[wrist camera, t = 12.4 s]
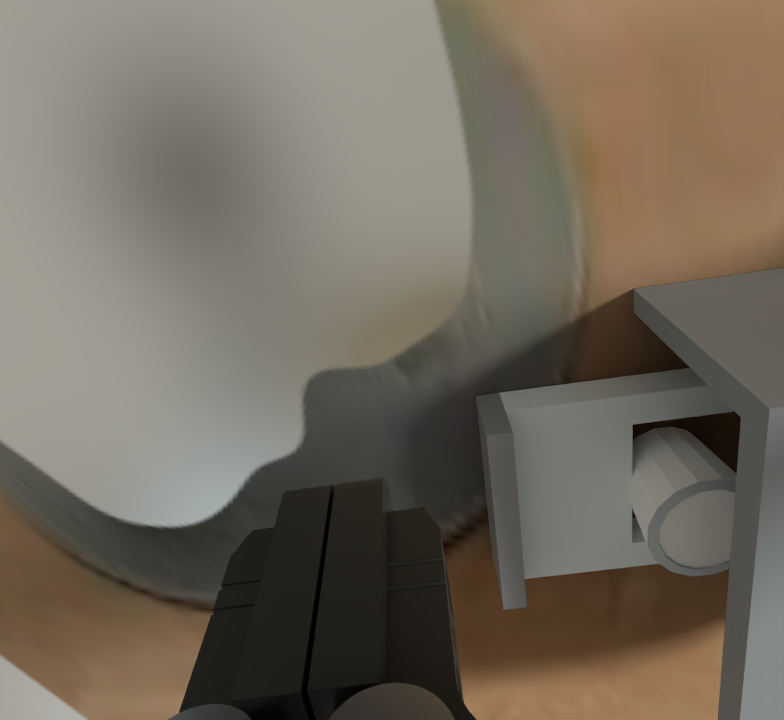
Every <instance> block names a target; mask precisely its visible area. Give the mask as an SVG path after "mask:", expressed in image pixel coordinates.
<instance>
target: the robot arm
mask: <svg viewBox="0 0 784 720" xmlns="http://www.w3.org/2000/svg"><path fill="white" fill-rule="evenodd" d="M221 585H222V590H220V591H219V593H218V596H217V600H216V603H215V606H214V615H211V618H210V621H209V624H208V627H207V630H206V633H205V636H204V639H203V642H202V645H201V648H200V651H199V654H198V657H197V660H196V663H195V666H194V669H193V672H192V675H191V678H190V681H189V684H188V687H187V690H186V693H185V696H184V699H183V702H182V705H181V708H180V711H179V713H178V714H176V715H175V716H173V717H171V718H169V719H168V720H476V719H475V718H474V716H473V715H472V714H471V713H470V712H469V711H468V709H467V707H466V706H465V704H464V700H463V692H462V683H461V674H460V667H459V657H458V648H457V641H456V631H455V622H454V614H453V606H452V600H451V594H450V588H449V582H448V575H447V569H446V563H445V557H444V551H443V545H442V539H441V533H440V528H439V527H438V526H437V524H436V523H435V522H434V521H433V519H432V518H431V517H430V515H429V514H428V513H427V512H426V510H425V509H424V508H423V507H422V508H414V509H407V510H399V511H392V507H391V501H390V496H389V491H388V487H387V483H386V480H385V478H379V479H372V480H364V481H357V482H350V483H343V484H337V485H336V486H334V485H329V486H322V487H315V488H307V489H300V490H293V491H286V492H284V494H283V496H282V500H281V504H280V508H279V512H278V515H277V519H276V523H275V527H274V528H266V529H259V530H252V532H251V533H250V534H249V535H248V536H247V538H246V539H245V540H244V541H243V542H242V544H241V545H240V546H239V547H238V548H237V550H236V551H235V552H234V553H233V554H232V555H231V557H230V560H229V563H228V566H227V569H226V572H225V575H224V578H223V581H222V584H221Z"/></svg>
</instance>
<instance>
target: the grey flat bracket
mask: <svg viewBox="0 0 784 720" xmlns="http://www.w3.org/2000/svg"><path fill="white" fill-rule="evenodd" d="M476 405H477V414H478V424H479V434H480V443H481V453H482V463H483V472H484V482H485V492H486V501H487V511H488V521H489V530H490V540H491V550H492V558H493V563H494V567H495V572H496V577H497V582H498V586H499V591H500V596H501V600H502V605H503V610H508V609H517V608H526V607H527V601H526V589H525V579H530V578H538V577H547V576H556V575H565V574H573V573H582V572H591V571H600V570H608V569H617V568H626V567H635V566H643V565H652V564H659V563H657V562H656V561H655V559H654V557H653V555H652V553H651V552H650V550H649V548H648V546H647V544H646V541H645V539H644V536H643V533H642V531H641V528H640V526H639V523H638V521H637V518H636V517H635V518H632V506H631V503H630V501H629V482H630V480H631V478H632V450H633V424H641V423H649V422H657V421H664V420H672V419H680V418H688V417H696V416H704V415H712V414H720V413H728V412H735V411H734V410H733V409H732V408H731V407H730V406H729V405H728V404H727V403H726V402H724V401H723V400H722V399H721V398H720V397H719V396H718V395H717V394H716V393H715V392H714V391H713V390H712V389H711V388H710V387H709V386H708V385H707V384H706V383H705V382H704V381H703V380H702V379H701V378H700V377H699V376H698V375H697V374H696V373H695V372H694V371H693V370H692V369H691V368H685V369H677V370H670V371H662V372H654V373H646V374H639V375H631V376H623V377H616V378H608V379H600V380H593V381H585V382H577V383H569V384H562V385H554V386H546V387H539V388H531V389H523V390H516V391H508V392H500V393H492V394H485V395H477V396H476Z"/></svg>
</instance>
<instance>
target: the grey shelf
mask: <svg viewBox="0 0 784 720" xmlns="http://www.w3.org/2000/svg"><path fill="white" fill-rule="evenodd" d="M634 313H635V314H636V315H637V316H638V317H639V318H640V319H641V320H642V321H643V322H644V323H645V324H646V325H647V326H648V327H649V328H650V329H651V330H652V331H653V332H654V333H655V334H656V335H657V336H658V337H659V338H660V339H661V340H662V341H663V342H664V343H665V344H666V345H667V346H668V347H669V348H670V349H671V350H672V351H673V352H674V353H675V354H676V355H677V356H678V357H680V358H681V359H682V360H683V361H684V362H685V363H686V364H687V365H688V366H689V367H690V368H691V369H692V370H693V371H694V372H695V373H696V374H697V375H698V376H699V377H700V378H701V379H702V380H703V381H704V382H705V383H706V384H707V385H708V386H709V387H710V388H711V389H712V390H713V391H714V392H715V393H716V394H717V395H718V396H719V397H720V398H721V399H722V400H723V401H724V402H726V403H727V404H728V405H729V406H730V407H731V408H732V409H733V410H734V411H735V412H736V413H737V414H738V415H739V416H740V417H741V424H740V437H739V450H738V463H737V476H736V489H735V502H734V515H733V528H732V541H731V554H730V567H729V580H728V593H727V606H726V619H725V632H724V645H723V658H722V671H721V684H720V698H719V711H718V720H784V268H778V269H771V270H764V271H756V272H749V273H742V274H735V275H728V276H721V277H714V278H707V279H700V280H693V281H685V282H678V283H671V284H664V285H657V286H650V287H643V288H636V289H634Z"/></svg>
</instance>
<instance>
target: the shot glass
mask: <svg viewBox="0 0 784 720" xmlns="http://www.w3.org/2000/svg"><path fill="white" fill-rule="evenodd" d="M736 476H737V474H736V473H735V472H734V471H733V470H732V469H731V468H730V467H729V466H728V465H726V464H725V463H724V462H723V461H722V460H721V459H720V458H719V457H718V456H716V455H715V454H714V453H713V452H712V451H711V450H710V449H709V448H708V447H706V446H705V445H704V444H703V443H702V442H701V441H700V440H699V439H697V438H696V437H695V436H694V435H692V434H691V433H690V432H688V431H687V430H684V429H680V428H675V427H662V428H654V429H652V430H650V431H648V432H645V433H643V434H641V435H639V436H637V437H636V438H635V439H634V440H633V450H632V478H631V480H630V482H629V501H630V503H631V506H632V508H633V511H634V513H635V516H636V518H637V521H638V523H639V526H640V528H641V531H642V533H643V536H644V539H645V541H646V544H647V546H648V548H649V550H650V552H651V553H652V555H653V557H654V559H655V561H656V562H657V563H659V564H660V565H662V566H663V567H665V568H666V569H668V570H669V571H671V572H673V573H678V574H682V575H687V576H692V577H694V576H704V575H713V574H717V573H720V572H722V571H725V570H727V569H729V567H730V554H731V541H732V528H733V515H734V502H735V489H736Z"/></svg>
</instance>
